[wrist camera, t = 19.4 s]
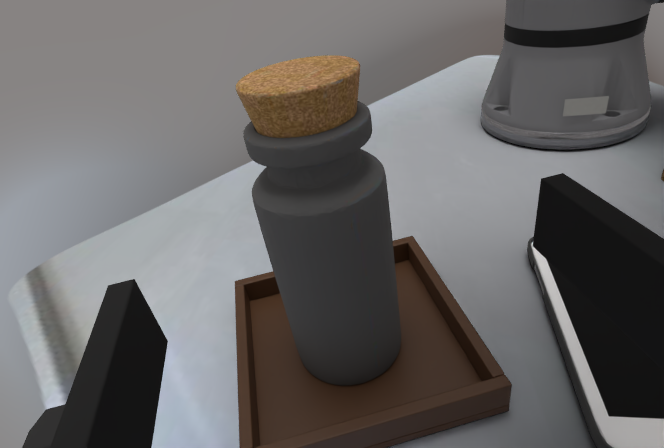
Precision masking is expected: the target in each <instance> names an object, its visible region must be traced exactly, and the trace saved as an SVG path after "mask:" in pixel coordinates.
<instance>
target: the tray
mask: <svg viewBox="0 0 664 448" xmlns="http://www.w3.org/2000/svg"><path fill="white" fill-rule="evenodd" d="M393 250H394V260H395V271H396V282H397V293H398V304H399V315H400V328H401V346H400V350H399V354H398V356H397V358H396V360H395V361H394V362H393V364H392V365H391V366H390V367H389V368H388V369H387V370H386V371H385V372H384V373H383V374H381V375H379V376H378V377H376V378H374V379H373V380H370V381H367V382H365V383H362V384H356V385H346V386H341V385H334V384H330V383H326V382H324V381H321V380H319V379H318V378H316V377H315V376H313V375H312V374H311V373H310V372H309V371H308V370H307V369H306V368H305V366H304V364H303V363H302V361H301V358H300V355H299V353H298V350H297V347H296V344H295V341H294V337H293V334H292V331H291V327H290V324H289V321H288V317H287V314H286V311H285V307H284V304H283V301H282V298H281V294H280V291H279V288H278V284H277V281H276V278H275V274H274V271H273V272H269V273H265V274H261V275H257V276H253V277H249V278H245V279H241V280H238V281H235V304H236V339H237V373H238V407H239V441H240V448H386V447H389V446H392V445H396V444H399V443H402V442H406V441H409V440H412V439H416V438H419V437H422V436H426V435H429V434H433V433H436V432H439V431H443V430H446V429H449V428H453V427H456V426H459V425H463V424H466V423H469V422H473V421H476V420H479V419H483V418H486V417H489V416H493V415H496V414H499V413H503V412H506V411H508V410H509V403H510V395H511V387H512V384H511V383H510V381H509V380H508V378H507V377H506V375H504V372H503V371H502V369H501V368H500V366H499V365H498V363H497V362H496V360H495V359H494V357H493V356H492V354H491V353H490V351H489V350H488V348H487V347H486V345H485V344H484V342H483V341H482V339H481V338H480V336H479V335H478V333H477V332H476V330H475V329H474V327H473V326H472V324H471V323H470V321H469V320H468V318H467V317H466V315H465V314H464V312H463V311H462V309H461V308H460V306H459V305H458V303H457V302H456V300H455V299H454V297H453V296H452V294H451V293H450V291H449V290H448V288H447V287H446V285H445V284H444V282H443V281H442V279H441V278H440V276H439V275H438V273H437V272H436V270H435V269H434V267H433V266H432V264H431V263H430V261H429V260H428V258H427V257H426V255H425V254H424V252H423V251H422V249H421V248H420V246H419V245H418V243H417V242H416V240H415V239H414V237H413V236H410V237H406V238H402V239H398V240H394V241H393Z"/></svg>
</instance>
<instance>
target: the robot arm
mask: <svg viewBox="0 0 664 448" xmlns="http://www.w3.org/2000/svg"><path fill="white" fill-rule="evenodd" d="M663 2H664V0H507V1H506V15H505V31H504V32H505V33H504V44H503V49H502V52H501V54H500V57H499V60H498V62H497V65H496V67H495V70H494V73H493V75H492V78H491V81H490V83H489V86H488V89H487V91H486V94H485V97H484V100H483V103H482V112H481V123H482V126H483V127H484V129H485V130H486V131H487V132H489V133H490V134H492V135H493V136H495V137H497V138H499V139H502V140H504V141H507V142H511V143H514V144H518V145H523V146H528V147H535V148H544V149H586V148H594V147H601V146H606V145H611V144H615V143H618V142H622V141H624V140H627V139H630V138H632V137H634V136H635V135H637V134H639V133H640V132H641V131H642V130H643V129H644V128H645V126H646V124H647V121H648V117H649V113H650V109H651V95H650V87H649V80H648V73H647V65H646V57H645V50H644V42H643V41H644V33H645V28H646V24H647V20H648V15H649V11H650V8H651V5H652V4H655V3H663ZM533 247H534V248H535V249H536V250H537V251H538V252H539V253H540V254H541V255H542V256H544V257H545V258H546V259H547V260H548V261H549V262H550V263H551V264H552V265H553V266H554V267H555V268H556V269H557V270H558V271H559V272H560V273H561V274H562V275H563V276H564V277H566V278H567V279H568V280H569V281H570V282H571V283H572V284H573V285H574V286H575V287H576V288H577V289H578V290H579V291H580V292H581V293H582V294H583V295H584V296H585V297H586V298H588V299H589V300H590V301H591V302H592V303H593V304H594V305H595V306H596V307H597V308H598V309H599V310H600V311H601V312H602V313H603V314H604V315H605V316H606V317H607V318H608V319H610V320H611V321H612V322H613V323H614V324H615V325H616V326H617V327H618V328H619V329H620V330H621V331H622V332H623V333H624V334H625V335H626V336H627V337H628V338H629V339H630V340H631V341H633V342H634V343H635V344H636V345H637V346H638V347H639V348H640V349H641V350H642V351H643V352H644V353H645V354H646V355H647V356H648V357H649V358H650V359H651V360H652V361H653V362H655V363H656V364H657V365H658V366H659V367H660V368H661V369H662V370H663V371H664V239H663V238H661V237H660V236H658V235H657V234H655V233H654V232H652V231H651V230H649V229H648V228H646V227H645V226H643V225H642V224H640V223H638V222H637V221H635V220H634V219H632V218H631V217H629V216H628V215H626V214H625V213H623V212H622V211H620V210H619V209H617V208H615V207H614V206H612V205H611V204H609V203H608V202H606V201H605V200H603V199H602V198H600V197H599V196H597V195H596V194H594V193H592V192H591V191H589V190H588V189H586V188H585V187H583V186H582V185H580V184H579V183H577V182H576V181H574V180H572V179H571V178H569V177H568V176H566V175H565V174H563V173H562V174H558V175H554V176H550V177H546V178H542V179H541V185H540V193H539V201H538V208H537V216H536V224H535V232H534V239H533ZM167 342H168V341H167V339H166V337H165V335H164V333H163V332H162V330H161V328H160V326H159V324H158V322H157V320H156V319H155V317H154V315H153V313H152V311H151V309H150V307H149V306H148V304H147V302H146V300H145V298H144V296H143V294H142V293H141V291H140V289H139V287H138V285H137V283H136V281H135V280H134V279H133V280H129V281H125V282H121V283H117V284H113V285H109V286H108V288H107V291H106V293H105V296H104V299H103V302H102V305H101V307H100V310H99V313H98V316H97V318H96V321H95V324H94V327H93V330H92V332H91V335H90V338H89V341H88V343H87V346H86V349H85V352H84V355H83V357H82V360H81V363H80V366H79V368H78V371H77V374H76V377H75V380H74V382H73V385H72V388H71V391H70V393H69V396H68V399H67V402H66V404H65V405H61V406H58V407H54V408H50V409H47V410H45V412H44V413H43V414H42V416H41V417H40V418H39V419H38V421H37V422H36V423H35V425H34V426H33V427H32V428H31V430H30V431H29V433H28V435H27V438H26V440H25V443H24V445H23V448H151V446H152V440H153V433H154V427H155V420H156V414H157V407H158V401H159V394H160V388H161V381H162V375H163V368H164V362H165V355H166V349H167Z"/></svg>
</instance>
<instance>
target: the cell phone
mask: <svg viewBox="0 0 664 448" xmlns="http://www.w3.org/2000/svg"><path fill="white" fill-rule="evenodd" d="M533 239H534V237H533V238H531V239H530V240H529V242H528V248H527V251H528V256H529V259H530V262H531V266H532V268H533V269H534V270H535V271H536V274H537V277H538V280H539V282H540V285H541V288H542V291H543V299H544V302H545V305H546V308H547V311H548V314H549V317H550V319H551V322H552V325H553V328H554V331H555V334H556V337H557V340H558V342H559V345H560V348H561V351H562V354H563V357H564V360H565V363H566V365H567V368H568V371H569V374H570V377H571V380H572V383H573V386H574V388H575V391H576V394H577V397H578V400H579V403H580V406H581V409H582V411H583V414H584V417H585V420H586V423H587V426H588V429H589V432H590V434H591V437H592V439H593V441H594V443H595V445H596V447H597V448H664V371H663V370H662V369H661V368H660V367H659V366H658V365H657V364H656V363H655V362H653V361H652V360H651V359H650V358H649V357H648V356H647V355H646V354H645V353H644V352H643V351H642V350H641V349H640V348H639V347H638V346H637V345H636V344H635V343H634V342H633V341H631V340H630V339H629V338H628V337H627V336H626V335H625V334H624V333H623V332H622V331H621V330H620V329H619V328H618V327H617V326H616V325H615V324H614V323H613V322H612V321H611V320H610V319H608V318H607V317H606V316H605V315H604V314H603V313H602V312H601V311H600V310H599V309H598V308H597V307H596V306H595V305H594V304H593V303H592V302H591V301H590V300H589V299H588V298H586V297H585V296H584V295H583V294H582V293H581V292H580V291H579V290H578V289H577V288H576V287H575V286H574V285H573V284H572V283H571V282H570V281H569V280H568V279H567V278H566V277H564V276H563V275H562V274H561V273H560V272H559V271H558V270H557V269H556V268H555V267H554V266H553V265H552V264H551V263H550V262H549V261H548V260H547V259H546V258H545V257H544V256H542V255H541V254H540V253H539V252H538V251H537V250H536V249H535V248H534V247H533Z"/></svg>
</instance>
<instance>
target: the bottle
mask: <svg viewBox="0 0 664 448" xmlns="http://www.w3.org/2000/svg"><path fill="white" fill-rule="evenodd" d="M359 75H360V64H359V62H358V61H357V60H355V59H353V58H350V57H346V56H314V57H306V58H299V59H294V60H289V61H284V62H280V63H277V64H273V65H269V66H267V67H264V68H261V69H259V70H256V71H254V72H252V73H250V74H248V75H246V76H244V77H243V78H242V79H241V80H239V81H238V83H237V84H236V91H237V93H238V95H239V97H240V99H241V101H242V103H243V105H244V107H245V109H246V111H247V113H248V115H249V117H250V119H251V122H250V123H249V124H248V125H247V126H246V128H245V130H244V140H245V144H246V147H247V150H248V154H249V155H250V157H251V158H252V159H253V160H254V161H255V162H257V163H258V164H261V165H264V166H267V167H266V168H265V169H264V170H263V171H262V173H261V174H260V175H259V177H258V178H257V179H256V181H255V183H254V185H253V189H252V197H253V202H254V206H255V210H256V213H257V217H258V220H259V224H260V227H261V231H262V234H263V238H264V241H265V245H266V248H267V251H268V254H269V258H270V261H271V264H272V268H273V271H274V274H275V278H276V281H277V284H278V288H279V291H280V294H281V298H282V301H283V304H284V307H285V311H286V314H287V317H288V321H289V324H290V327H291V331H292V334H293V337H294V341H295V344H296V347H297V350H298V353H299V355H300V358H301V361H302V363H303V364H304V366H305V368H306V369H307V370H308V371H309V372H310V373H311V374H312V375H313V376H315V377H316V378H318V379H319V380H321V381H324V382H326V383H330V384H334V385H341V386H346V385H356V384H362V383H365V382H367V381H370V380H373V379H374V378H376V377H378V376H379V375H381V374H383V373H384V372H385V371H386V370H387V369H388V368H389V367H390V366H391V365H392V364H393V362H394V361H395V360H396V358H397V356H398V354H399V350H400V346H401V328H400V315H399V304H398V293H397V282H396V271H395V260H394V250H393V241H392V231H391V221H390V211H389V201H388V191H387V183H386V175H385V171H384V167H383V165H382V164H381V162H380V161H379V160H378V159H377V158H376V157H374V156H373V155H371V154H370V153H368V152H366V151H364V150H362V149H360V148H361V147H362V146H363V145H365V144H366V142H367V141H368V140H369V138H370V137H371V134H372V123H371V115H370V111H369V109H368V107H367V106H366V105H365V104H363V103H361V102H359V101H357V100H358V87H359Z"/></svg>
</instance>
